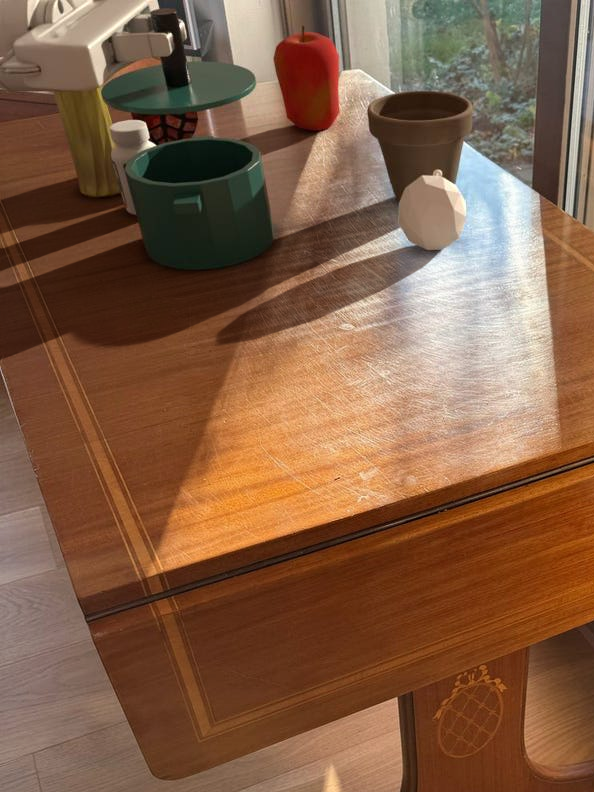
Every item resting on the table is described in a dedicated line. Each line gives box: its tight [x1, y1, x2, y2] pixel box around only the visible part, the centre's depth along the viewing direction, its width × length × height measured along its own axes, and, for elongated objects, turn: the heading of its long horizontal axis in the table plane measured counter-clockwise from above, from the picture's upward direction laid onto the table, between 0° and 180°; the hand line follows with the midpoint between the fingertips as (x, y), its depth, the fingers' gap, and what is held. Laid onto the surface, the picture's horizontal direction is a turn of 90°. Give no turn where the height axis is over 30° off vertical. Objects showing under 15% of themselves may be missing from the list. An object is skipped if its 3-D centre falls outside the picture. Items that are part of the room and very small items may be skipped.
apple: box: [273, 24, 341, 132], centre depth 128 cm, size 9×8×12 cm
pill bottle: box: [109, 119, 156, 216], centre depth 111 cm, size 5×5×9 cm
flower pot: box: [366, 90, 474, 203], centre depth 110 cm, size 12×11×10 cm
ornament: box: [398, 170, 467, 251], centre depth 102 cm, size 7×7×8 cm
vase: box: [53, 85, 121, 199], centre depth 113 cm, size 6×6×14 cm
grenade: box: [130, 112, 199, 146], centre depth 122 cm, size 5×8×10 cm, turn 103°
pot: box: [124, 135, 275, 271], centre depth 104 cm, size 14×19×8 cm
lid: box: [101, 7, 257, 115], centre depth 92 cm, size 15×15×7 cm
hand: (177, 37), depth 91 cm, fingers closed on lid, 2 cm apart
